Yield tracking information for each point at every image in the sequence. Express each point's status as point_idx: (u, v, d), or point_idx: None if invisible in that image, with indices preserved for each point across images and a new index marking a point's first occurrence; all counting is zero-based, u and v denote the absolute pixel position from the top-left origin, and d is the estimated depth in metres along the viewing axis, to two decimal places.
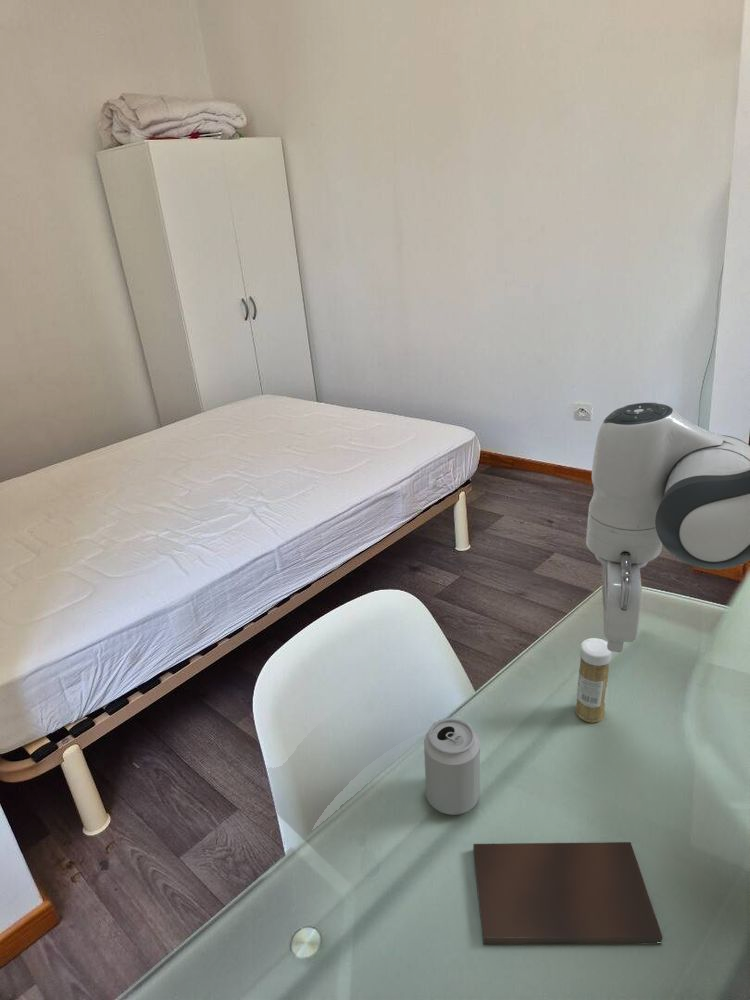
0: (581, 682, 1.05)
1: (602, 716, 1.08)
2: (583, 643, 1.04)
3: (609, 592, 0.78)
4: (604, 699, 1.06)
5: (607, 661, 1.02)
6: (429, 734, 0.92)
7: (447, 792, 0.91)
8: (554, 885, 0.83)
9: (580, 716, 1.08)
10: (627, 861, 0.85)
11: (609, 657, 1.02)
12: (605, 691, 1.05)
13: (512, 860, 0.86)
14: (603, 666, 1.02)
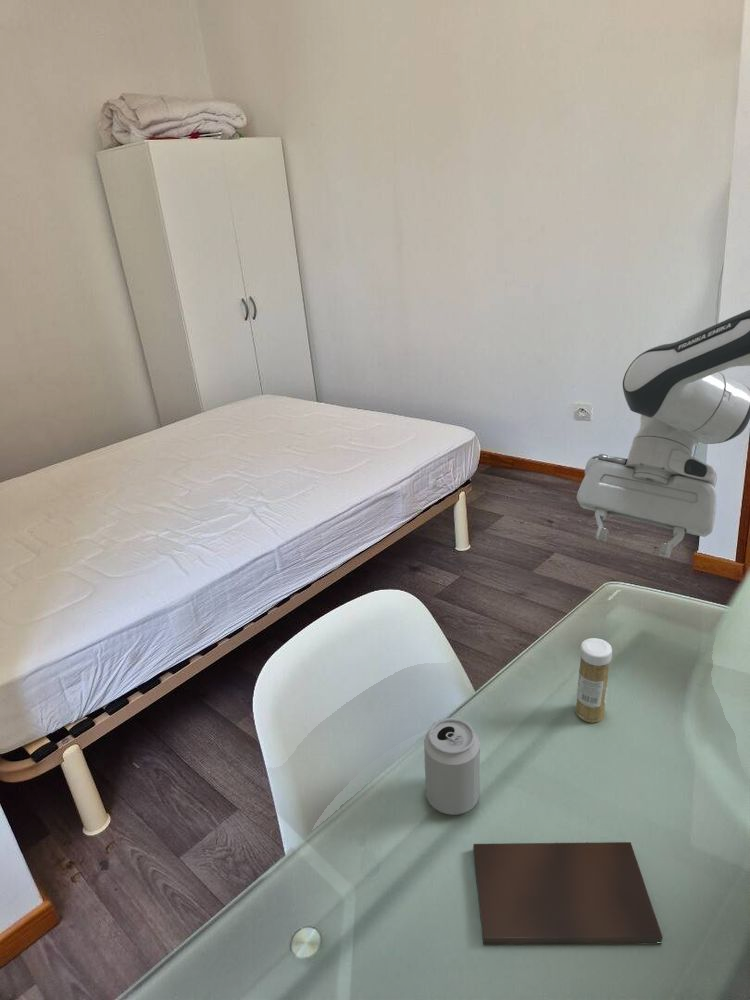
0: (581, 682, 1.05)
1: (602, 716, 1.08)
2: (583, 643, 1.04)
3: None
4: (604, 699, 1.06)
5: (607, 661, 1.02)
6: (429, 734, 0.92)
7: (447, 792, 0.91)
8: (554, 885, 0.83)
9: (580, 716, 1.08)
10: (627, 861, 0.85)
11: (609, 657, 1.02)
12: (605, 691, 1.05)
13: (512, 860, 0.86)
14: (603, 666, 1.02)
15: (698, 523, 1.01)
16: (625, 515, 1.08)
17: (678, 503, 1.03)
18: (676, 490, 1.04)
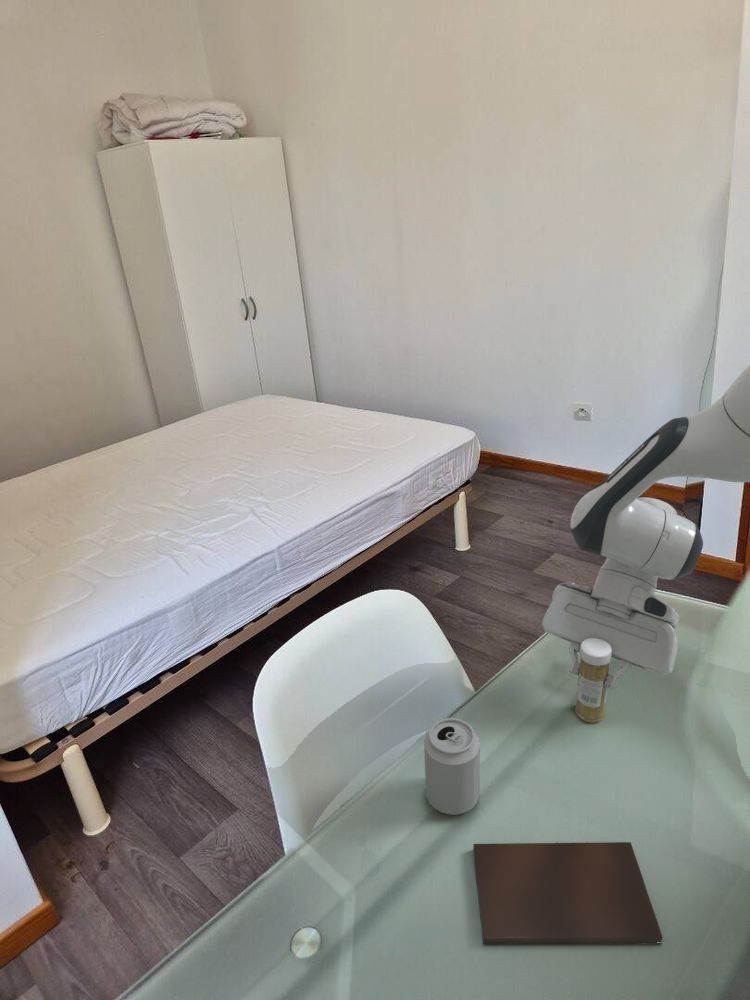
0: (581, 682, 1.05)
1: (602, 716, 1.08)
2: (583, 643, 1.04)
3: None
4: (604, 699, 1.06)
5: (607, 661, 1.02)
6: (429, 734, 0.92)
7: (447, 792, 0.91)
8: (554, 885, 0.83)
9: (580, 716, 1.08)
10: (627, 861, 0.85)
11: (609, 657, 1.02)
12: (605, 691, 1.05)
13: (512, 860, 0.86)
14: (603, 666, 1.02)
15: (656, 663, 1.01)
16: None
17: (637, 641, 1.03)
18: (636, 627, 1.04)
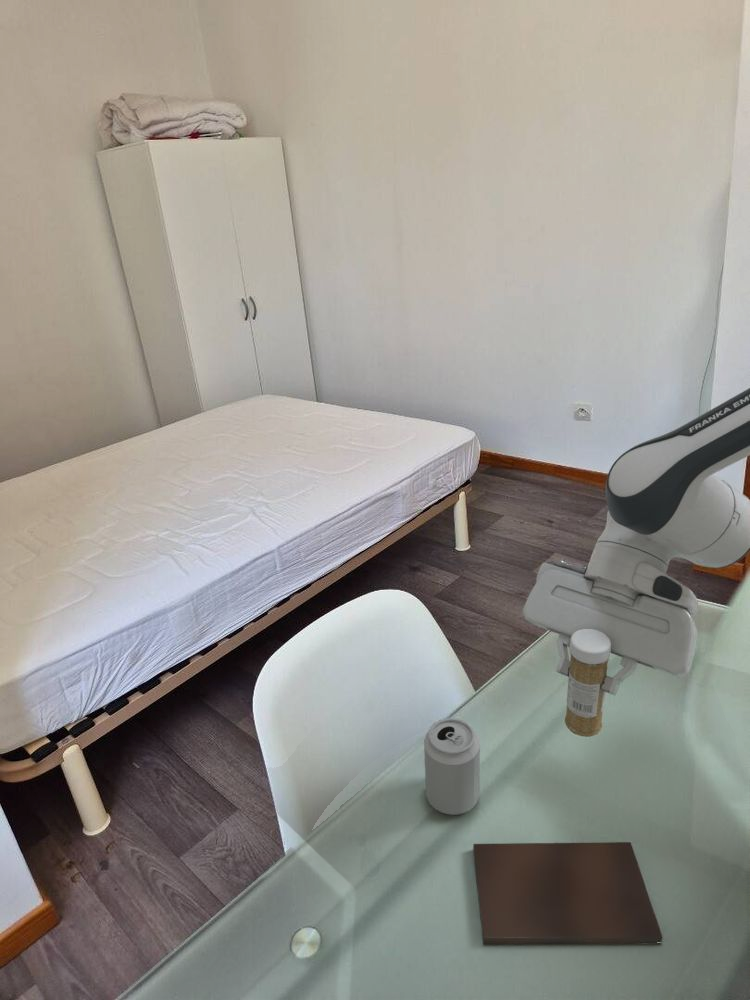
0: (571, 685, 0.82)
1: (599, 728, 0.84)
2: (574, 635, 0.81)
3: None
4: (601, 707, 0.83)
5: (605, 658, 0.79)
6: (429, 734, 0.92)
7: (447, 792, 0.91)
8: (554, 885, 0.83)
9: (571, 728, 0.85)
10: (627, 861, 0.85)
11: (607, 653, 0.79)
12: (602, 697, 0.82)
13: (512, 860, 0.86)
14: (600, 665, 0.79)
15: (668, 661, 0.77)
16: None
17: (644, 632, 0.80)
18: (643, 614, 0.81)
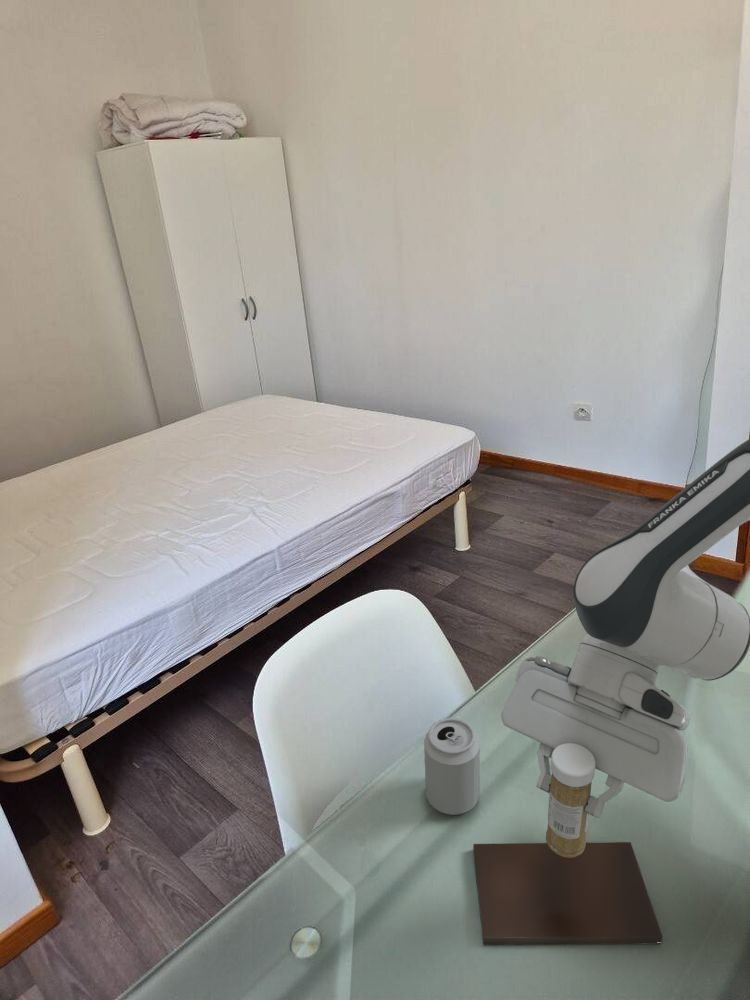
0: (552, 804, 0.75)
1: (582, 848, 0.77)
2: (555, 752, 0.74)
3: None
4: (585, 827, 0.76)
5: (588, 781, 0.72)
6: (429, 734, 0.92)
7: (447, 792, 0.91)
8: (554, 885, 0.83)
9: (552, 847, 0.78)
10: (627, 861, 0.85)
11: (591, 775, 0.72)
12: (586, 817, 0.75)
13: (512, 860, 0.86)
14: (583, 788, 0.72)
15: (658, 787, 0.70)
16: None
17: (632, 751, 0.73)
18: (630, 729, 0.74)
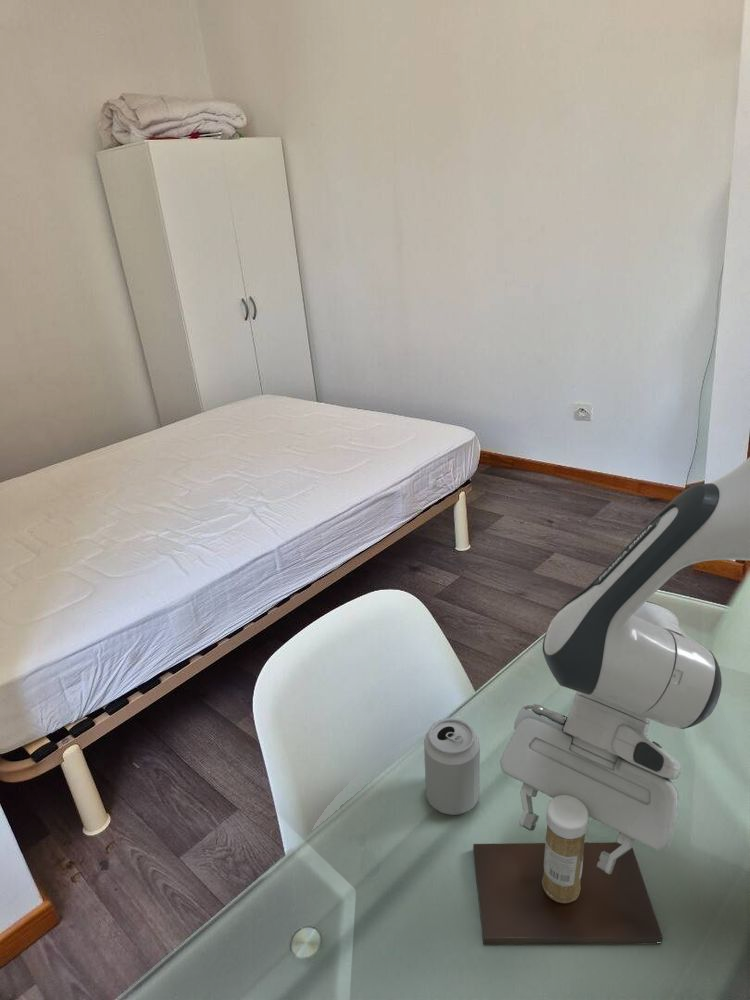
0: (548, 853, 0.79)
1: (577, 894, 0.81)
2: (550, 804, 0.78)
3: None
4: (579, 875, 0.80)
5: (582, 833, 0.76)
6: (429, 734, 0.92)
7: (447, 792, 0.91)
8: None
9: (548, 893, 0.82)
10: (627, 861, 0.85)
11: (584, 828, 0.76)
12: (580, 866, 0.79)
13: (512, 860, 0.86)
14: (577, 839, 0.76)
15: (649, 837, 0.74)
16: None
17: (624, 801, 0.76)
18: (623, 780, 0.77)
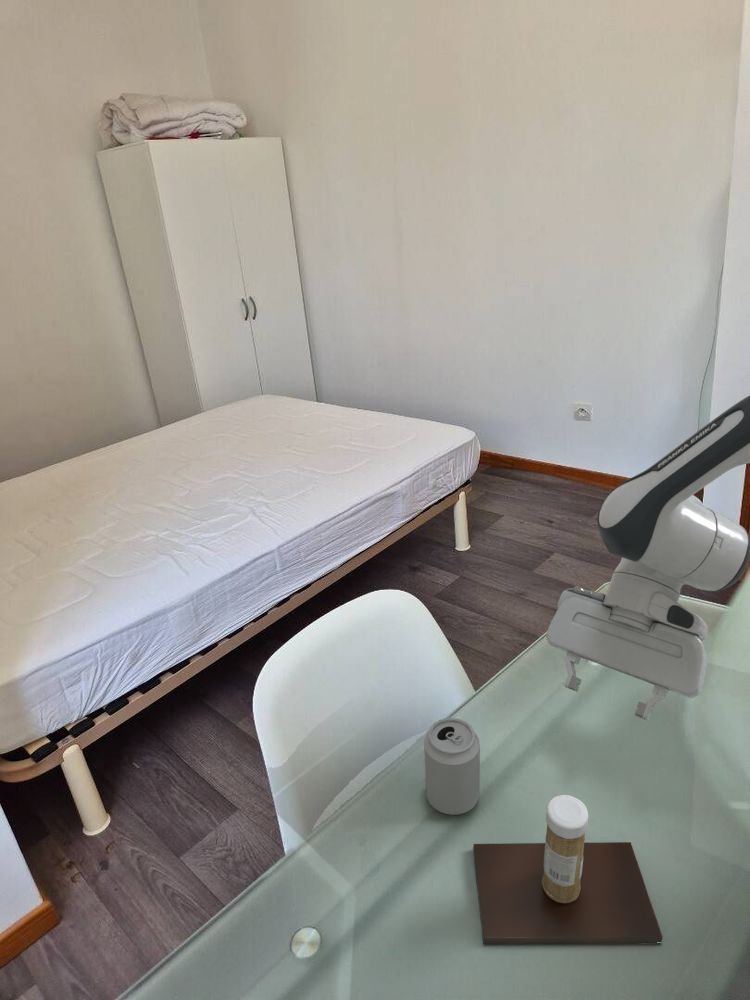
0: (548, 853, 0.79)
1: (577, 894, 0.81)
2: (550, 804, 0.78)
3: None
4: (579, 875, 0.80)
5: (582, 833, 0.76)
6: (429, 734, 0.92)
7: (447, 792, 0.91)
8: None
9: (548, 893, 0.82)
10: (627, 861, 0.85)
11: (584, 828, 0.76)
12: (580, 866, 0.79)
13: (512, 860, 0.86)
14: (577, 839, 0.76)
15: (681, 684, 0.85)
16: None
17: (659, 657, 0.87)
18: (658, 640, 0.88)
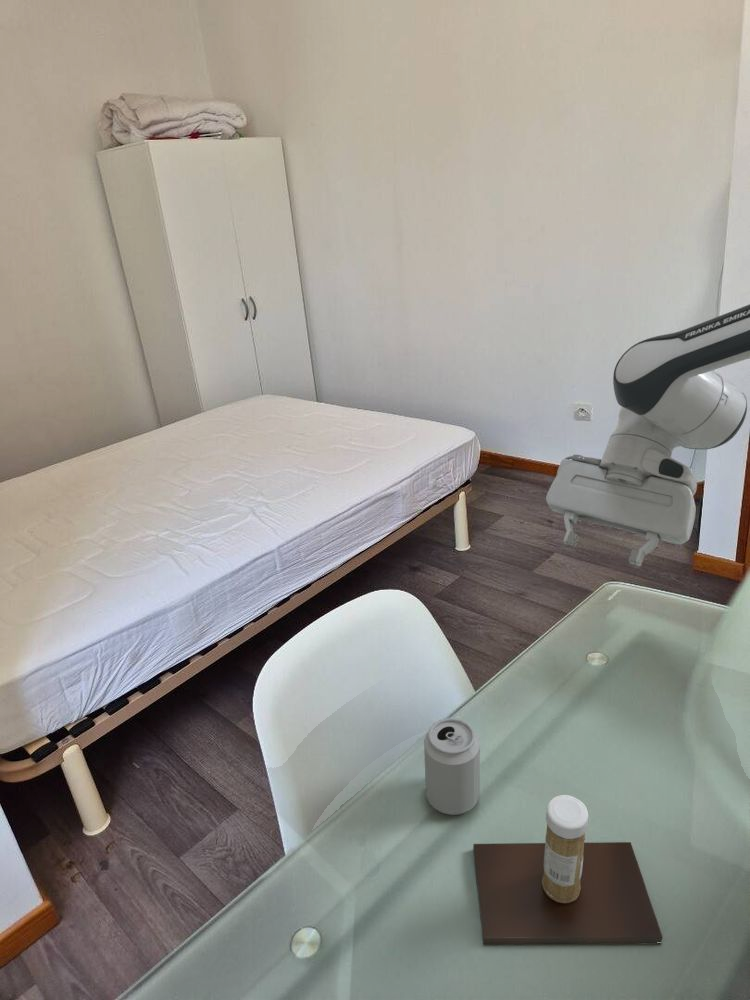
0: (548, 853, 0.79)
1: (577, 894, 0.81)
2: (550, 804, 0.78)
3: None
4: (579, 875, 0.80)
5: (582, 833, 0.76)
6: (429, 734, 0.92)
7: (447, 792, 0.91)
8: None
9: (548, 893, 0.82)
10: (627, 861, 0.85)
11: (584, 828, 0.76)
12: (580, 866, 0.79)
13: (512, 860, 0.86)
14: (577, 839, 0.76)
15: (671, 528, 0.91)
16: (597, 520, 1.00)
17: (651, 507, 0.94)
18: (650, 493, 0.95)
